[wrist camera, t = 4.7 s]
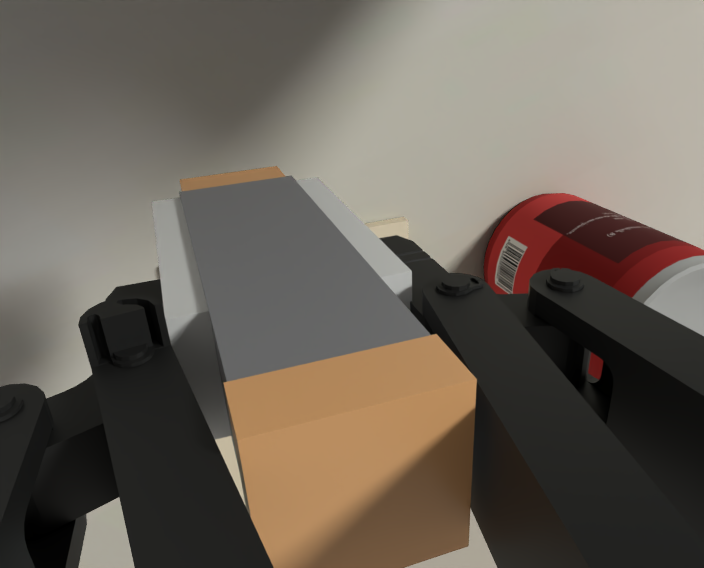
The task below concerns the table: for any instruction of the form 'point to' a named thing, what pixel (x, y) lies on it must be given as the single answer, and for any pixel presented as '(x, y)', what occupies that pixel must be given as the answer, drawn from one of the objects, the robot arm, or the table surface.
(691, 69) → the table surface
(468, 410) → the marker
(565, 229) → the canned food
